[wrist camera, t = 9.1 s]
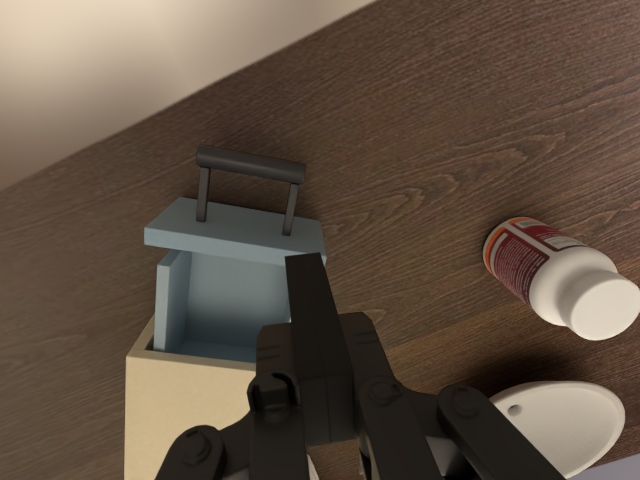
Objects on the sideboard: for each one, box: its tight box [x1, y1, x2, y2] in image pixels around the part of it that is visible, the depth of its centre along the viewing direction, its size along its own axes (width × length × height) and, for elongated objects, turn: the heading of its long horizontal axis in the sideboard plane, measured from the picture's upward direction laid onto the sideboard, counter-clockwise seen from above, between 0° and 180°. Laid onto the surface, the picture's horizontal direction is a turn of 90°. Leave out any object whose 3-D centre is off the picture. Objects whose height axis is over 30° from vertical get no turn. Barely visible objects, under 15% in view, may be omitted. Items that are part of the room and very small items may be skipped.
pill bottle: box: [483, 217, 640, 340], centre depth 29 cm, size 6×6×11 cm
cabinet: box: [124, 313, 256, 480], centre depth 33 cm, size 15×13×9 cm
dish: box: [489, 381, 625, 479], centre depth 39 cm, size 18×14×5 cm
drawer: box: [144, 144, 327, 363], centre depth 28 cm, size 19×12×7 cm, turn 169°
